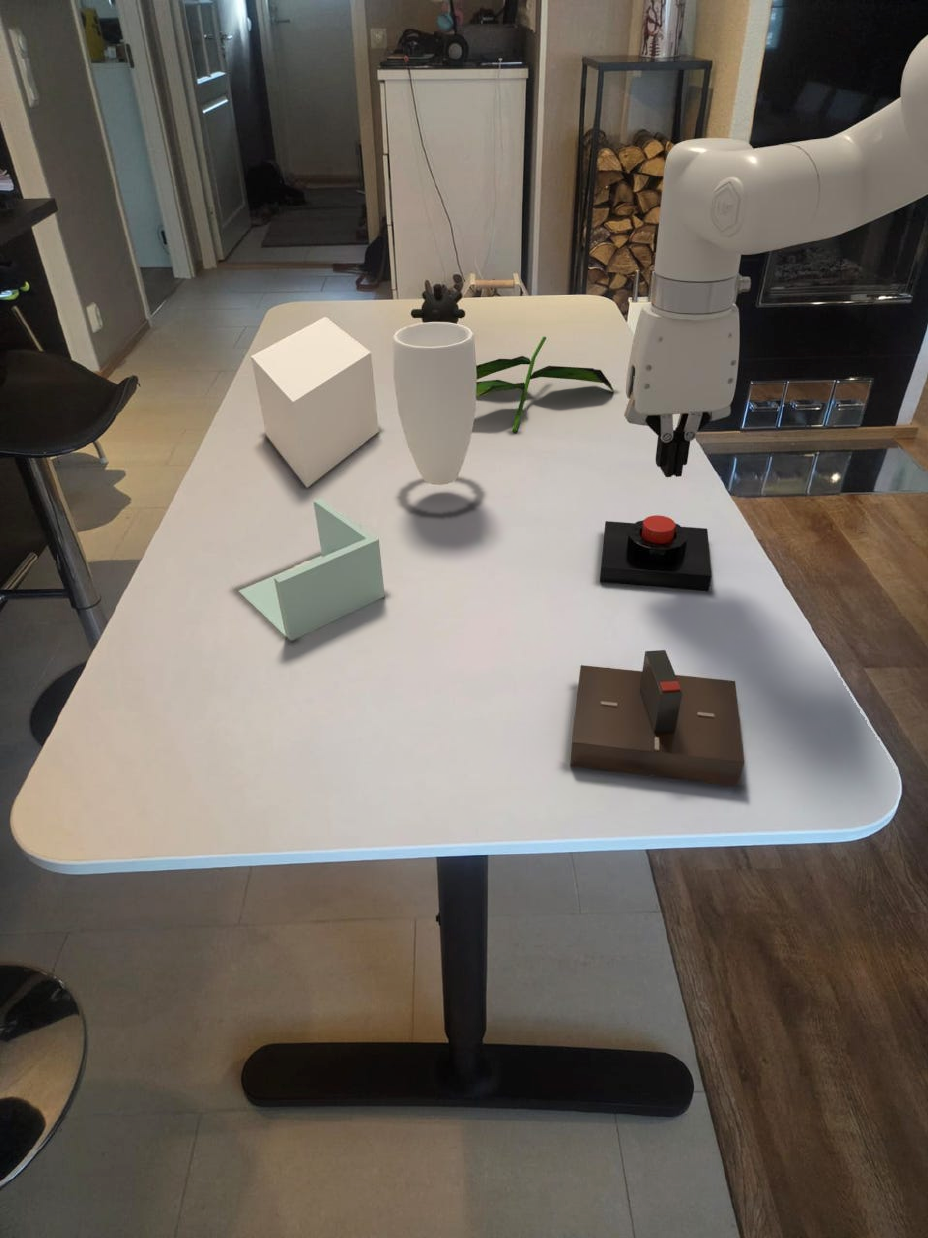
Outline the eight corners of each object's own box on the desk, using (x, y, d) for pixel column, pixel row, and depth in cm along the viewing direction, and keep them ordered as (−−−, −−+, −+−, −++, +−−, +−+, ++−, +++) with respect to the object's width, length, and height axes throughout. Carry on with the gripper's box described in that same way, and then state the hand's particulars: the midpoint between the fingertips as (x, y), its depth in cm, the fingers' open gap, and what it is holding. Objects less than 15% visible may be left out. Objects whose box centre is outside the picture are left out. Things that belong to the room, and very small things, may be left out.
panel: (729, 704, 75) (735, 679, 73) (738, 787, 67) (745, 761, 65) (578, 688, 77) (580, 663, 75) (569, 766, 69) (572, 740, 67)
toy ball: (482, 312, 160) (474, 314, 149) (445, 351, 164) (435, 356, 153) (444, 271, 158) (434, 270, 147) (408, 311, 162) (395, 313, 151)
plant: (420, 404, 132) (417, 358, 127) (540, 364, 145) (542, 321, 141) (495, 441, 120) (494, 391, 116) (618, 393, 134) (622, 347, 129)
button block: (704, 543, 96) (709, 515, 94) (708, 591, 89) (714, 561, 86) (604, 536, 98) (606, 507, 96) (599, 582, 91) (602, 552, 88)
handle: (639, 689, 72) (645, 648, 69) (659, 687, 72) (665, 647, 69) (654, 733, 68) (661, 691, 65) (675, 731, 68) (683, 690, 65)
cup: (386, 497, 107) (370, 336, 94) (441, 470, 113) (434, 314, 100) (440, 524, 102) (432, 356, 88) (496, 494, 107) (495, 332, 94)
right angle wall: (328, 552, 97) (319, 498, 92) (384, 596, 90) (378, 539, 85) (238, 590, 91) (224, 534, 87) (290, 641, 84) (278, 582, 79)
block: (243, 489, 110) (224, 404, 103) (284, 391, 138) (271, 318, 130) (370, 485, 110) (361, 399, 103) (385, 388, 138) (378, 314, 130)
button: (673, 529, 92) (675, 516, 91) (673, 546, 90) (675, 532, 89) (641, 527, 93) (643, 514, 92) (641, 543, 90) (642, 530, 89)
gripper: (756, 278, 78) (726, 451, 89) (605, 286, 78) (593, 460, 89) (787, 299, 72) (750, 482, 83) (623, 308, 72) (608, 492, 83)
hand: (669, 470), depth 86 cm, fingers closed
